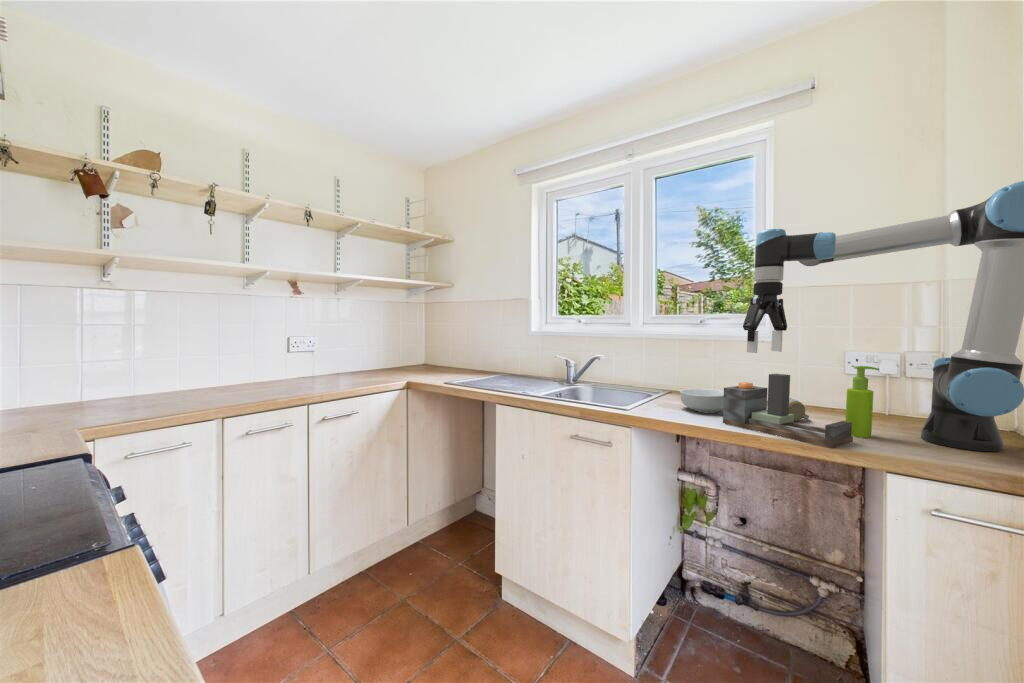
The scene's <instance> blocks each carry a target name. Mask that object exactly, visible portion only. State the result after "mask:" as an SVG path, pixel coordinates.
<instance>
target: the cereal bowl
mask: <svg viewBox="0 0 1024 683" xmlns="http://www.w3.org/2000/svg"><path fill="white" fill-rule="evenodd" d="M679 392H680V395H679V397H680V401H681V403H682V404H683V405H684V406H686V407H687V408H689V409H692V411H694V410H695V411H694V412H696V411H699V412H698V413H701V412H707V413H706V414H715V413H717V412H718V411H720V410H723V400H724V390H719V389H713V388H712V389H711V388H685V389H681V390H680V391H679ZM714 412H715V413H714Z"/></svg>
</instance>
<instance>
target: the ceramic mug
mask: <svg viewBox="0 0 1024 683" xmlns="http://www.w3.org/2000/svg"><path fill="white" fill-rule="evenodd" d="M789 414H793V415H794V421H793V422H799V421H800V420H805V419H806V420H805V421H807V420H809V418H810V415H809V414H807V413H806V407H805V405H804V404H803V403H802V402H800V401H799V400H797V399H794V398H793V397H792V398H791V397H789ZM802 418H804V419H802Z"/></svg>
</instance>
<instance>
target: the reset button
mask: <svg viewBox="0 0 1024 683" xmlns="http://www.w3.org/2000/svg"><path fill="white" fill-rule="evenodd" d="M738 386H739V388H741V389H748V390H750V389H753V386H754V384H753V382H745V381H743V382H742V381H741V382H738Z"/></svg>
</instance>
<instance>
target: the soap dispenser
mask: <svg viewBox="0 0 1024 683" xmlns="http://www.w3.org/2000/svg"><path fill="white" fill-rule="evenodd" d="M853 369H855V370H856V376H854V377H852V388H851V387H850V388H847V389H846V400H845V402H846V403H845V404H846V405H845V421H847V422H852V432H851V436H853V438H860V437H861V439H870V438H872V428H873V408H874V407H873V406H874V390H871V389H869V378H868V377H866V376H865V372H866V371H865V370H875V371H879V370H880V368H877V367H874V366H867V365H860V366H859V365H857V366H853Z"/></svg>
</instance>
